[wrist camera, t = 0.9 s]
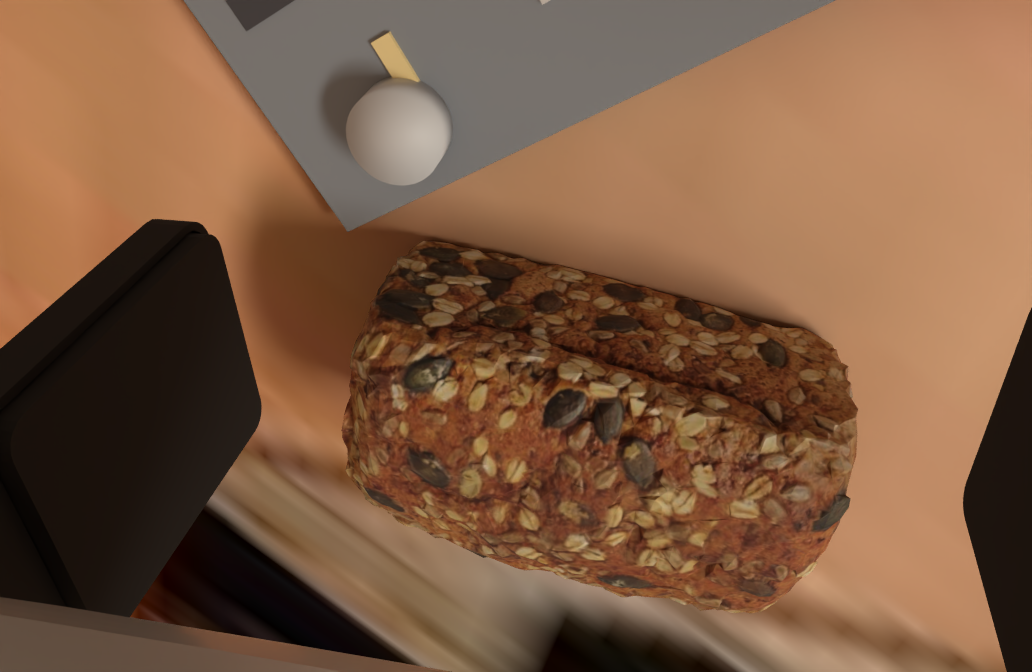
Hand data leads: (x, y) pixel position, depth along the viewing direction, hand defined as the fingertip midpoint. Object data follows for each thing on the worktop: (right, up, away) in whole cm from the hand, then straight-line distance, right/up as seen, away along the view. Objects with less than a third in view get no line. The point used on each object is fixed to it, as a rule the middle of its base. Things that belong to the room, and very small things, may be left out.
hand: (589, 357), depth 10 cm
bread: (+3, -1, +29) cm, 30 cm away
